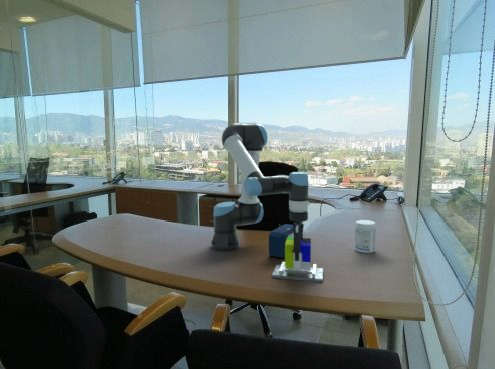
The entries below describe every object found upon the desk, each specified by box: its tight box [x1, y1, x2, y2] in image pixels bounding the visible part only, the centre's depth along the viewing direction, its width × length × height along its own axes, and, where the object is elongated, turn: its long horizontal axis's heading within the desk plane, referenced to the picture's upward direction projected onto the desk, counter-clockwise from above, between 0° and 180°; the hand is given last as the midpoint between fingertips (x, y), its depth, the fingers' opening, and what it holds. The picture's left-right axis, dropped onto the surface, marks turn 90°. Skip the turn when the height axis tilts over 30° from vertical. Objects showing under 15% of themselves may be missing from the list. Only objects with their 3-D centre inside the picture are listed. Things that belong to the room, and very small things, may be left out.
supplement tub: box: [354, 219, 377, 254], centre depth 159 cm, size 10×10×15 cm
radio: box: [268, 223, 294, 259], centre depth 158 cm, size 21×9×20 cm, turn 148°
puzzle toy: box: [284, 237, 312, 270], centre depth 131 cm, size 10×10×10 cm
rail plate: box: [271, 261, 324, 283], centre depth 132 cm, size 20×11×3 cm, turn 76°
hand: (298, 262), depth 131 cm, fingers closed on puzzle toy, 10 cm apart
